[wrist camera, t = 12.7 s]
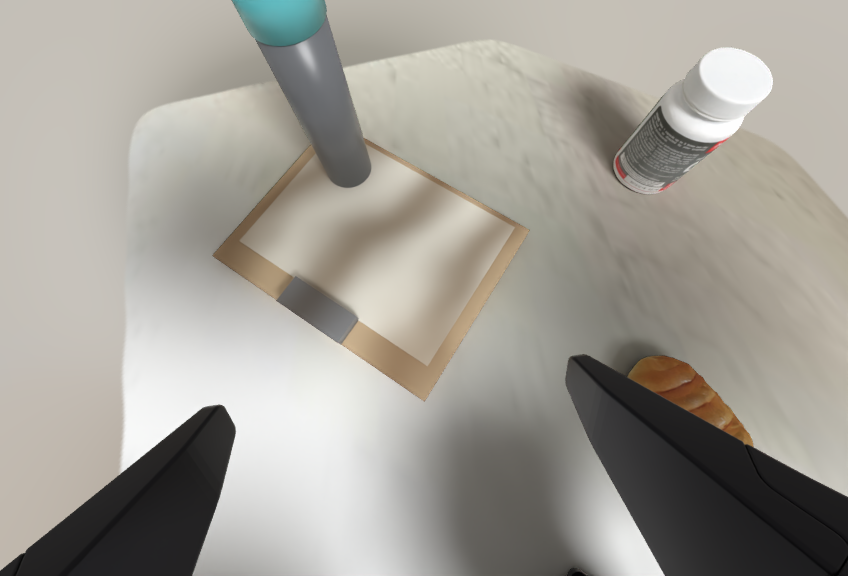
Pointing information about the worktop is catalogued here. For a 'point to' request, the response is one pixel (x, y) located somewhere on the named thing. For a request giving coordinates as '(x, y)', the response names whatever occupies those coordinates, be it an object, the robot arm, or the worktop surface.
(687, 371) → the pastry
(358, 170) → the ball
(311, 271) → the clipboard
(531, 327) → the worktop surface
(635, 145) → the pill bottle
